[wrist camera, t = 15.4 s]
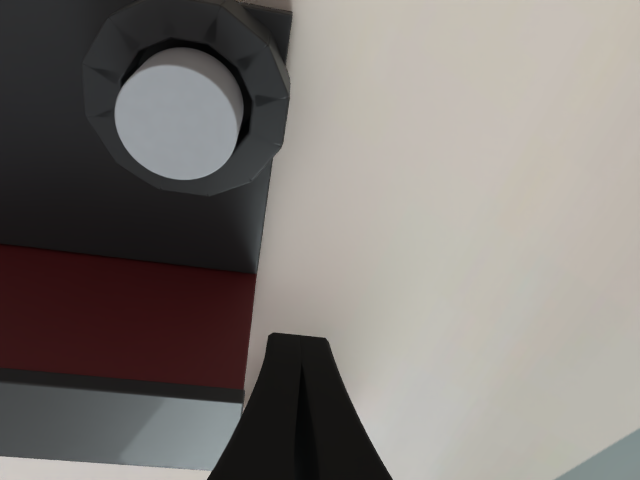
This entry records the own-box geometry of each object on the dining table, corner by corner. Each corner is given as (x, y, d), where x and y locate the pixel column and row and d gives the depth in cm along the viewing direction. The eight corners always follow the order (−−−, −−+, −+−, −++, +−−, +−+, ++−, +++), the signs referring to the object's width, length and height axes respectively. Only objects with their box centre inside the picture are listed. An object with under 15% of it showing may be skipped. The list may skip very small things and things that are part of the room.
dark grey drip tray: (-161, -82, 15) (-235, -80, 13) (300, 5, 17) (301, 19, 15) (-72, 226, 22) (-113, 263, 19) (263, 267, 23) (259, 304, 21)
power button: (131, 37, 16) (110, 53, 14) (248, 57, 16) (242, 76, 14) (134, 145, 18) (116, 171, 16) (238, 161, 18) (232, 187, 16)
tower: (-79, 205, 21) (-242, 335, 15) (261, 248, 23) (247, 380, 16) (-52, 300, 24) (-178, 444, 17) (249, 332, 26) (233, 473, 19)
